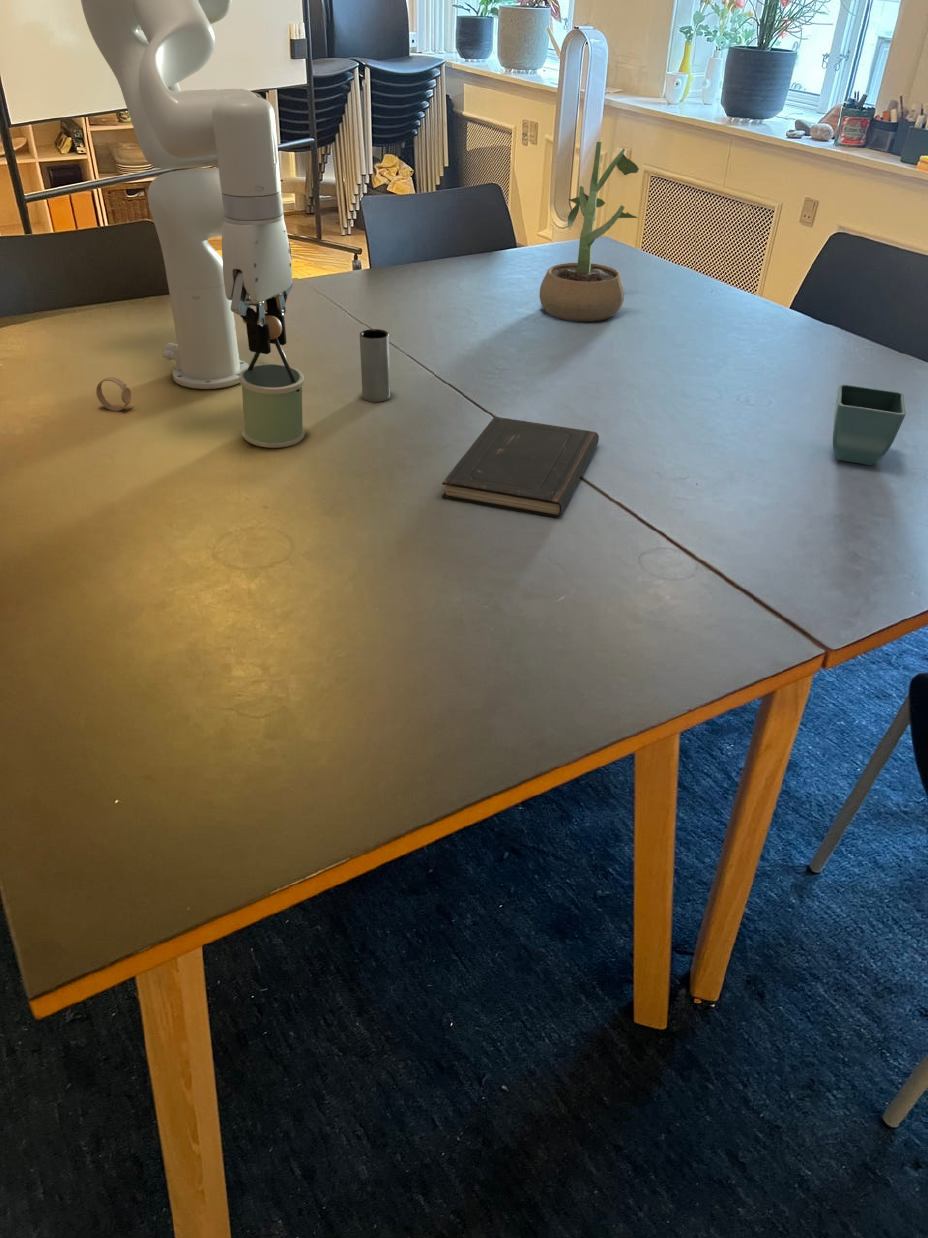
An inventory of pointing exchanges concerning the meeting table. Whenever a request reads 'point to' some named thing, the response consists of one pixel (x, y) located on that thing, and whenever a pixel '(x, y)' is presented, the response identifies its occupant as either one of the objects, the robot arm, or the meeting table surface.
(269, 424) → the green hollow rimmed cylinder
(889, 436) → the flower pot
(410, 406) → the meeting table surface
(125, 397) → the brown ring
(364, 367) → the grey hollow tube
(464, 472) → the hardcover book
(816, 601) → the meeting table surface
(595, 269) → the potted plant
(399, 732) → the meeting table surface
